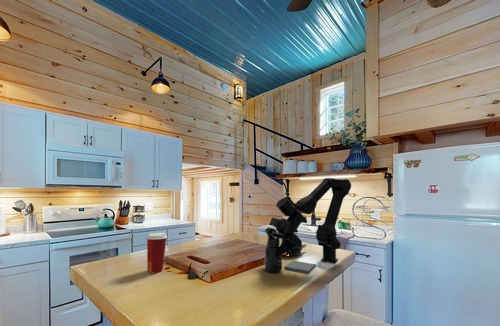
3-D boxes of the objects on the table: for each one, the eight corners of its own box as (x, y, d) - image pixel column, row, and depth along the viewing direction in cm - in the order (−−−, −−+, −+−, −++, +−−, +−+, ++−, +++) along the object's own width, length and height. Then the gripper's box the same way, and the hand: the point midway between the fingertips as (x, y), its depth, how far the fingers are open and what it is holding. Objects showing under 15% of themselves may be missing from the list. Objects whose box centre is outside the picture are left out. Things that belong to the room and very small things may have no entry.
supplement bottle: (282, 273, 94) (282, 241, 95) (265, 273, 94) (265, 241, 96) (281, 268, 101) (281, 238, 102) (264, 267, 101) (264, 237, 102)
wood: (209, 280, 88) (209, 271, 88) (187, 281, 87) (188, 272, 87) (208, 262, 110) (209, 255, 110) (191, 262, 108) (192, 255, 109)
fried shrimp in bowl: (273, 246, 119) (288, 229, 134) (284, 267, 118) (298, 248, 133) (288, 241, 114) (302, 224, 128) (300, 263, 113) (312, 243, 128)
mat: (293, 262, 108) (292, 260, 108) (315, 266, 103) (315, 264, 103) (284, 269, 100) (284, 266, 100) (308, 273, 94) (308, 270, 95)
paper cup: (168, 268, 99) (170, 232, 101) (160, 274, 92) (161, 236, 93) (150, 267, 100) (152, 232, 101) (140, 273, 92) (142, 235, 94)
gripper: (268, 208, 110) (246, 236, 103) (295, 212, 94) (272, 245, 87) (282, 225, 113) (262, 253, 107) (311, 232, 97) (289, 265, 90)
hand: (270, 253), depth 98 cm, fingers closed on supplement bottle, 7 cm apart
